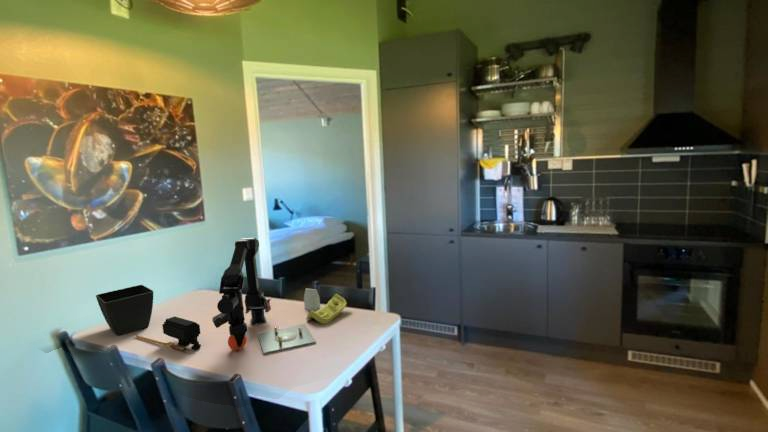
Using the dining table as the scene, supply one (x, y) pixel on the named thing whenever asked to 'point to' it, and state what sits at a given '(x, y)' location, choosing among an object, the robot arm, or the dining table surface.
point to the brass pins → (280, 336)
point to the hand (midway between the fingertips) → (238, 342)
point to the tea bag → (311, 299)
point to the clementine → (233, 343)
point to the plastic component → (328, 310)
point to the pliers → (266, 308)
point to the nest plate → (285, 339)
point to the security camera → (182, 331)
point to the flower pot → (127, 308)
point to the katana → (169, 345)
